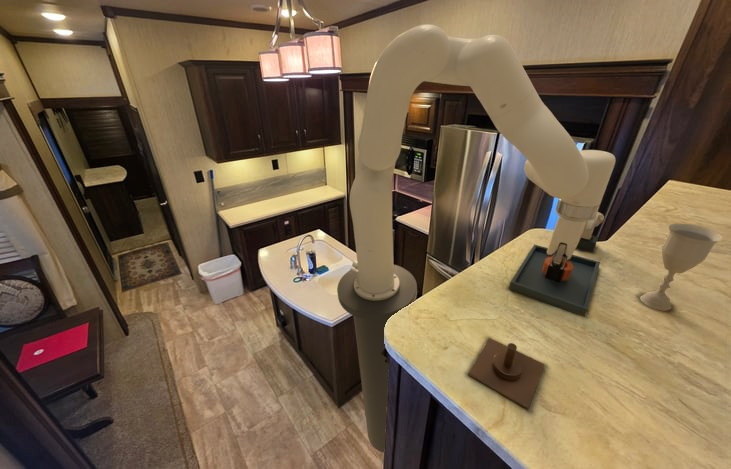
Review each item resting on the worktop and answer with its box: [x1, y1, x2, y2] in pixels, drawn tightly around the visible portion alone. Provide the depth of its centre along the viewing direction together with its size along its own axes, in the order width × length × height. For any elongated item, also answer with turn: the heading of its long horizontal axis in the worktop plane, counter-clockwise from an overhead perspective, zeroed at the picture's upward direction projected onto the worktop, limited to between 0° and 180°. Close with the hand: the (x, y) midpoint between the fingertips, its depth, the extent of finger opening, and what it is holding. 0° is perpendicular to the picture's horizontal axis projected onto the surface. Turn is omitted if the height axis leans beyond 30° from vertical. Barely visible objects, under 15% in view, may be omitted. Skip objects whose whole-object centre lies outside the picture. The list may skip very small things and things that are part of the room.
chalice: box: [639, 223, 723, 312], centre depth 60 cm, size 7×7×18 cm
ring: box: [542, 257, 573, 280], centre depth 72 cm, size 6×6×3 cm
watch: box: [576, 211, 605, 254], centre depth 83 cm, size 6×8×11 cm
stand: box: [467, 337, 545, 410], centre depth 51 cm, size 10×10×6 cm
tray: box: [508, 243, 601, 317], centre depth 73 cm, size 16×22×2 cm
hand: (555, 272), depth 73 cm, fingers closed on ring, 6 cm apart
